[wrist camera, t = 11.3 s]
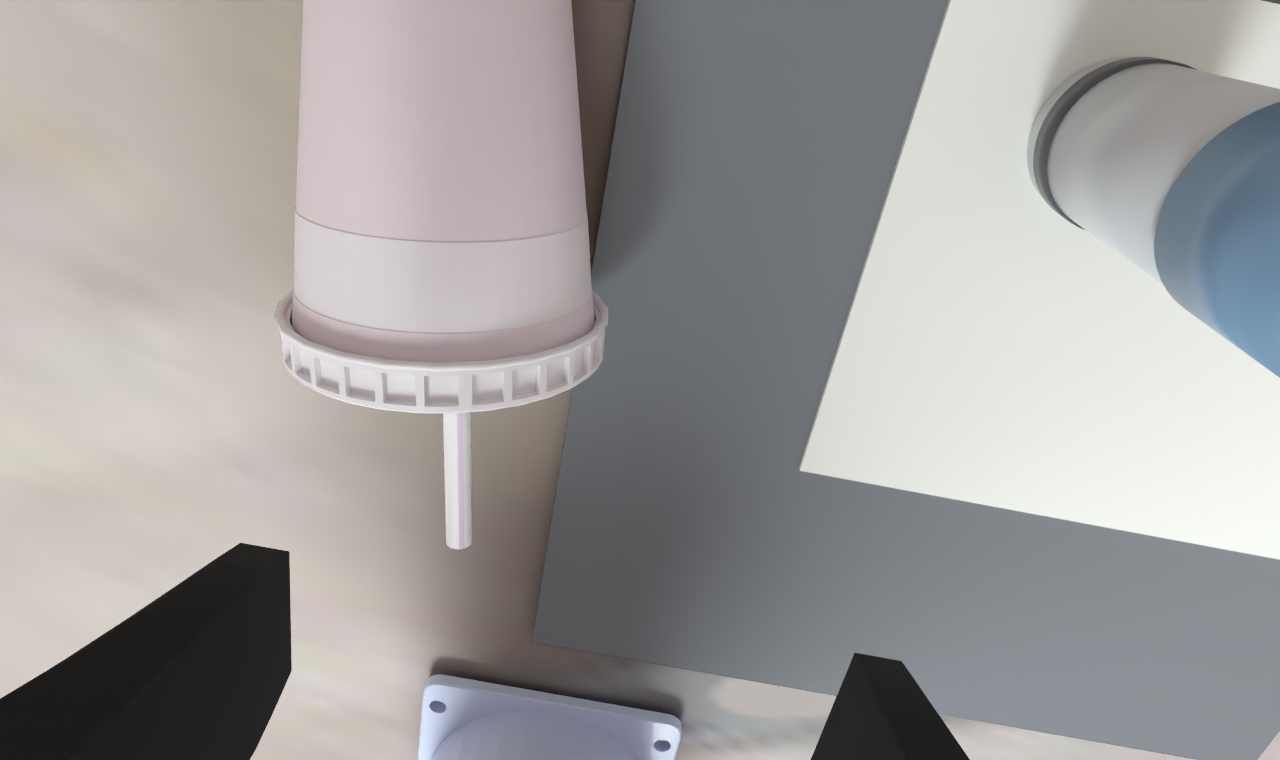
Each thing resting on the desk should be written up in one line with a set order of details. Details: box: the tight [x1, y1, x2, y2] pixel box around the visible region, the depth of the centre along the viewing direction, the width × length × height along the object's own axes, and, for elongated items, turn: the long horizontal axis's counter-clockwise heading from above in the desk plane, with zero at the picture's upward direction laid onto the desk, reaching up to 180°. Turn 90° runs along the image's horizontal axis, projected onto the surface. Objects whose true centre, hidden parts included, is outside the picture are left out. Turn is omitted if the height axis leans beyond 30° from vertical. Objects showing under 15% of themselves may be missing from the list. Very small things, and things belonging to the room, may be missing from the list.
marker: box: [1027, 57, 1280, 378], centre depth 13 cm, size 3×3×8 cm
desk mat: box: [532, 0, 1280, 760], centre depth 19 cm, size 22×22×1 cm
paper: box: [799, 0, 1280, 560], centre depth 18 cm, size 12×16×1 cm
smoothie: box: [274, 0, 608, 549], centre depth 15 cm, size 6×6×14 cm
